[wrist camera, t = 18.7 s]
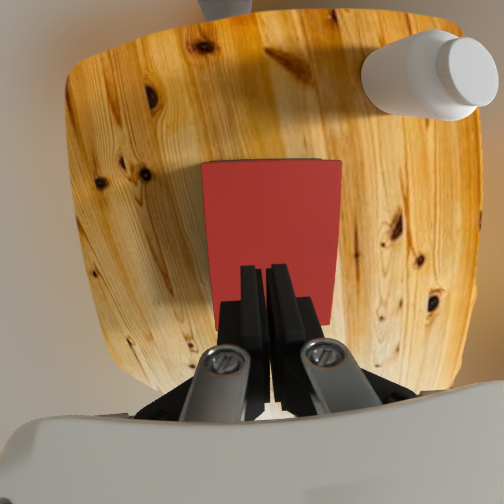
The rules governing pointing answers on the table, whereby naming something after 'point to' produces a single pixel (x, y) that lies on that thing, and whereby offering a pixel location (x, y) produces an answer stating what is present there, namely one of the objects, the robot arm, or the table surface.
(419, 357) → the table surface
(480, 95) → the pill bottle
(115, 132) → the table surface
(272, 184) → the lunchbox lid
